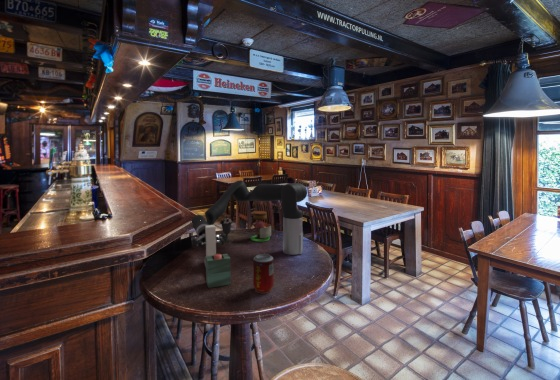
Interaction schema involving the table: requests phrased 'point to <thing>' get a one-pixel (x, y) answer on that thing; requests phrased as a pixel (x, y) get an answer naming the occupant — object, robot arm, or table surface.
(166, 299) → the table surface
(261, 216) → the toy burger
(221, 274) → the rail
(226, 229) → the sundae
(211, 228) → the carriage
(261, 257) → the soda can
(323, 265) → the table surface
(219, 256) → the red rounded capsule
